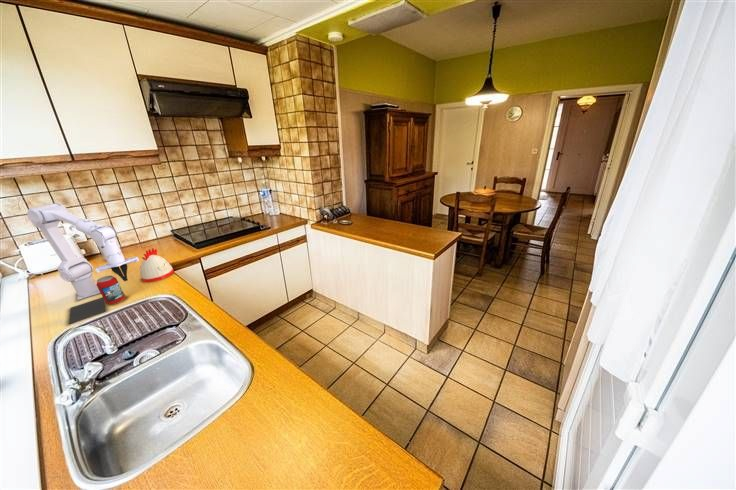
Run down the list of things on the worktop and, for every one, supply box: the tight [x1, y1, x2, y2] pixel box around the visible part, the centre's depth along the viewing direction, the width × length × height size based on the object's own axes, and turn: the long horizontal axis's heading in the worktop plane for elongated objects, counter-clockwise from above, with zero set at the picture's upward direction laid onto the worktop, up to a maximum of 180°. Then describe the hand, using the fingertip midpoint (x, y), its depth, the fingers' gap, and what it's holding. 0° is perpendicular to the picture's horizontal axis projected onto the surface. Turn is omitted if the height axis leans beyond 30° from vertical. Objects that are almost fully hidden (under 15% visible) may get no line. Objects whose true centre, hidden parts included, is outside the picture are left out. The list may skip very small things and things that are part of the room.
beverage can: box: [96, 275, 126, 305], centre depth 119 cm, size 7×7×12 cm
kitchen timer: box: [139, 247, 175, 283], centre depth 140 cm, size 14×14×15 cm
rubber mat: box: [68, 296, 106, 325], centre depth 116 cm, size 16×11×1 cm
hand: (125, 280), depth 122 cm, fingers closed
